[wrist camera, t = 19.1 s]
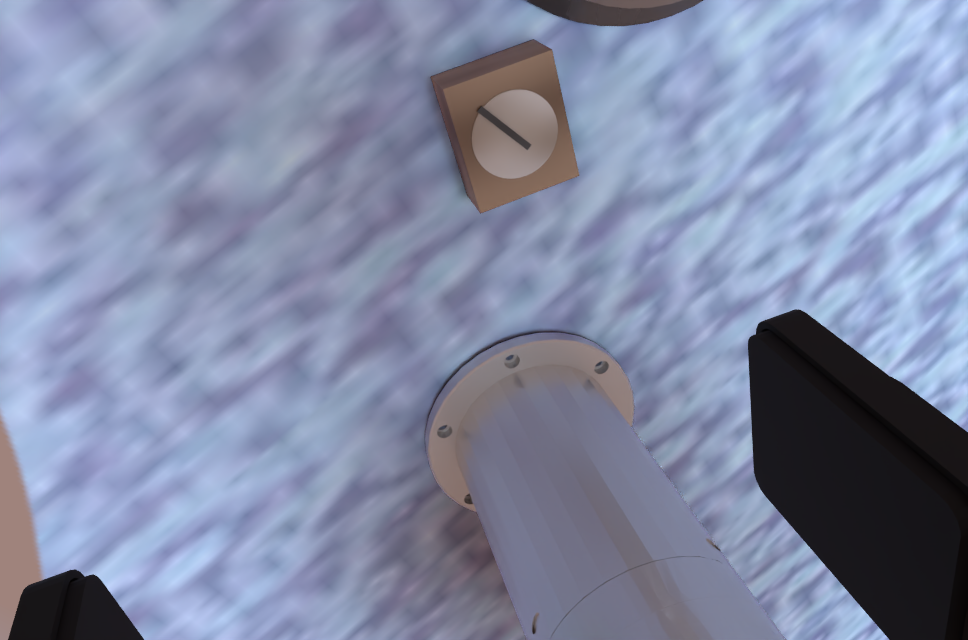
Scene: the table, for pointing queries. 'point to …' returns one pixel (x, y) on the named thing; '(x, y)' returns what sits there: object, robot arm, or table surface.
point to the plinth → (610, 11)
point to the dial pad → (507, 124)
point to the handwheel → (634, 3)
